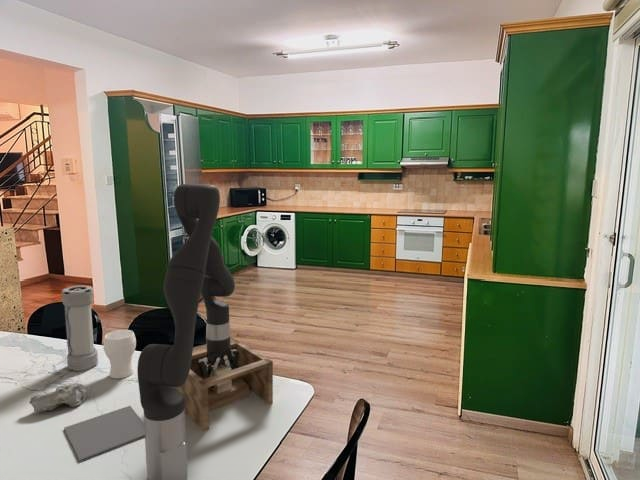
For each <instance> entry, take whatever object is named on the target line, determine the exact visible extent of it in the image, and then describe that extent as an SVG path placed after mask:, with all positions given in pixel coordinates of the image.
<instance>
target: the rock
mask: <svg viewBox="0 0 640 480" xmlns="http://www.w3.org/2000/svg"><path fill="white" fill-rule="evenodd" d="M87 394H88V390H87V386H86V385H84V384H81V382H74V383H68V384H65V385H60V386H58V387H56V388H55V390H54V391H52V392H48V393H45V394H36V395H33V396H32V397H31V398H30V400H29V404H30V405H31V407H32V408H33V412H40V411H41V412H46V411H52V410H54V409H55V408H57V407H59V406H60V405H63V404H66V405H69V406H70V407H73V408H76V407H78V406H82V404H83V403H84V402H85V401H86V399H87Z"/></svg>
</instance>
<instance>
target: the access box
mask: <svg viewBox="0 0 640 480" xmlns="http://www.w3.org/2000/svg"><path fill="white" fill-rule="evenodd" d="M230 343H231V347H230V349H231V350H233V349H236V350H237V351H239V355H238V361H237V366H236V368H235V369H232V370H230V371H227V372H224V373H221V374H218V375H215V376H212V377H209V378H205V377H204V376H202V375H201V372H200V368H199V365H198V359H203V358H205V357H206V355H207V346H206V343H205V344H201V345H198V346H193V352H192V360H191V366H190V371H189V375H188V377H187V380H186V381H185V383H184V384H183V385H182V386H180V387H172V388H174V389H175V390H177V391H179V392H181V393H182V394H183V396H184V399H185V414H186V415H187V416H189V417H190V419H191V420H192V421H194V423H195V424H196V425H198V427H200V428H201V430H202V431H203V432H204V431H207V430H209V429H210V422H209V421H210V420H209V419H210V418H209V417H210V412H212V411H215V410H218V409H220V408H222V407H225V406H228V405H230V404H232V403H233V404H234V403H235V402H239V401H241V400H243V399H246V398H248V396H250V392H251V393H253V394H254V395H255V396H257V397H259V398H260V399H261V400H262V401H264V402H266V404H272V403H273V402H274V401H273V400H274V388H273V387H274V383H273V382H274V380H273V379H274V378H273V377H274V371H273V370H274V369H273V368H274V363H273V360H271V359H269V358H268V357H266V356H264V355H262V354H261V353H259V352H258V351H256V350H255V349H253V348H252V347H251V348H250V347H249V346H247V345H246V344H244V343H242V342H241V341H239V340H237V339H235V338H234V337H232V336H230ZM230 359H231V355H230V357H229V358H228V361H229V363H230ZM206 363H207V365H208V364H209V362H208V361H207V362H206ZM207 365H205V366H206V369H207ZM231 379H232V389H230V390H227V391H224V392H221V393H218V394H217V393H216V392H215V391H214V390H212V389H211V388H210V387H211V386H214V385H216V384H219V383H222V382H225V381H228V380H231Z"/></svg>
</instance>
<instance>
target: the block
mask: <svg viewBox="0 0 640 480" xmlns="http://www.w3.org/2000/svg"><path fill="white" fill-rule="evenodd" d="M212 366H213V365H212ZM207 370H208V365H207ZM230 370H231V368H230V367H229V366H228V367H226V366H225V365H220V366H218V367H217V369H216V371H214V376H215V375H218V374H221V373H224V372H227V371H230ZM211 389H212V390H214V391H215V392H216V393H217V394H218V393H221V392H224V391H227V390H230V389H232V379H231V380H228V381H225V382H222V383H219V384H216V385H214V388H211Z"/></svg>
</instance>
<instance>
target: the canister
mask: <svg viewBox="0 0 640 480" xmlns="http://www.w3.org/2000/svg"><path fill="white" fill-rule="evenodd" d="M61 298H62V299H61V300H62V304H63V306H64V309H63V310H64V317H65V318H64V319H65V320H64V321H65V332H66V346H67V355H66V358H67V359H66V363H67V369H68V370H70V371H74V372H82V371H86V370H90V369H91V368H93V367H96V366H97V365H98V364H99V356H98V353H99V352H98V349H96V347H95V345H94V334H93V333H94V330H93V317H92V316H93V315H92V314H93V313H92V304H93V302H94V300H95V297H94V288H93V287H92V286H91V285H85V284H84V285H83V284H82V285H75V286H74V285H73V286H70V287H66V288H63V289H62V290H61Z"/></svg>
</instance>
